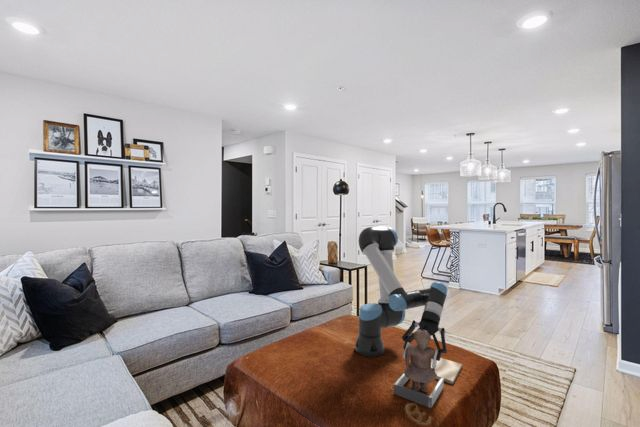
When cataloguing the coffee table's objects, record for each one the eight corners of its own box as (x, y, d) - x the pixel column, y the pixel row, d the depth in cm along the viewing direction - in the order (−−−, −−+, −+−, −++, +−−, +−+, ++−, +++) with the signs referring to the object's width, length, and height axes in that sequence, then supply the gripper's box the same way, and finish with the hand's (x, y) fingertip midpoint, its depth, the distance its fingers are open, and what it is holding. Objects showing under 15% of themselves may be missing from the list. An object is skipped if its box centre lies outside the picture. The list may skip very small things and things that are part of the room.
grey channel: (393, 393, 130) (394, 384, 130) (408, 375, 144) (409, 366, 144) (431, 408, 121) (431, 398, 121) (443, 387, 135) (443, 378, 135)
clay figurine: (405, 394, 128) (407, 334, 127) (401, 380, 138) (403, 324, 137) (438, 396, 127) (440, 335, 126) (432, 382, 137) (434, 325, 136)
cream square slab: (416, 372, 147) (416, 368, 147) (428, 356, 161) (428, 354, 161) (452, 384, 137) (452, 381, 137) (462, 367, 152) (462, 364, 152)
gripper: (461, 325, 137) (450, 376, 125) (408, 312, 151) (393, 357, 139) (458, 316, 132) (447, 368, 121) (404, 304, 146) (389, 349, 135)
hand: (418, 362), depth 130 cm, fingers closed on clay figurine, 11 cm apart
